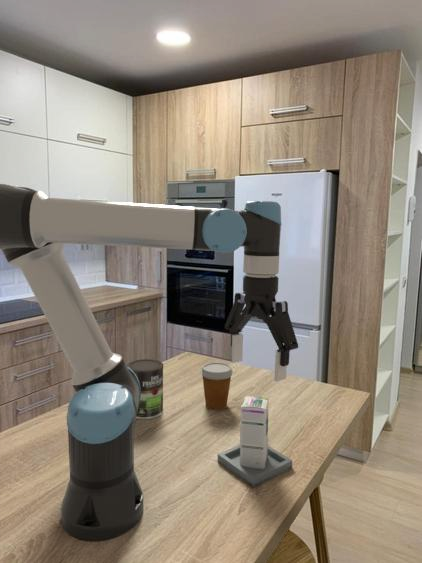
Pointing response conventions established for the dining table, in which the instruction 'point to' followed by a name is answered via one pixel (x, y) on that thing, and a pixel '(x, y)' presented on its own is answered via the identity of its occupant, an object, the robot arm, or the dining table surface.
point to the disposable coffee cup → (216, 384)
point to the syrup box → (254, 432)
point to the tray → (251, 475)
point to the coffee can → (149, 387)
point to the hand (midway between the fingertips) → (257, 370)
